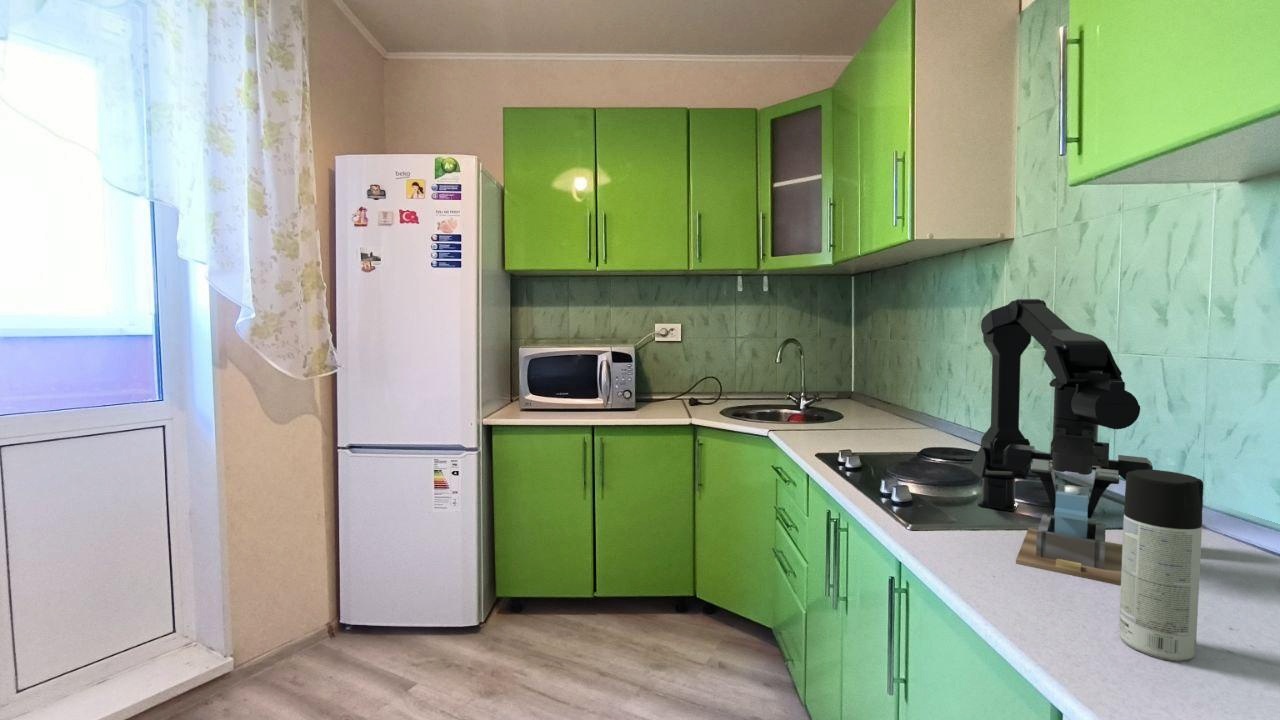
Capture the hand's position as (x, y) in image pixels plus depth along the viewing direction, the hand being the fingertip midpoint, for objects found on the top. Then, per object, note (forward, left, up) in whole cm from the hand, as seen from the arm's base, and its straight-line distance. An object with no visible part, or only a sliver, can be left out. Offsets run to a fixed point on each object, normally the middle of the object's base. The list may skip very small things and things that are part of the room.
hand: (1071, 514), depth 93 cm
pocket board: (0, 0, -7) cm, 7 cm away
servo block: (0, 0, -3) cm, 3 cm away
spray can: (+27, +9, -7) cm, 29 cm away
